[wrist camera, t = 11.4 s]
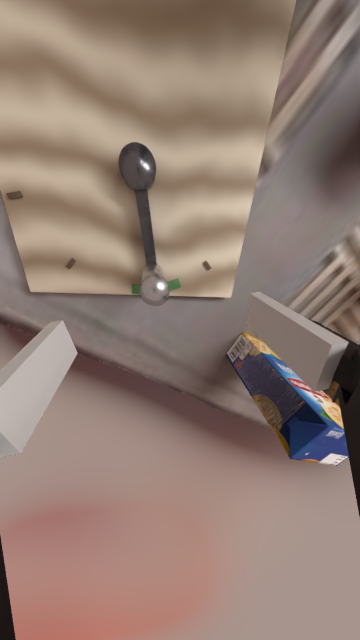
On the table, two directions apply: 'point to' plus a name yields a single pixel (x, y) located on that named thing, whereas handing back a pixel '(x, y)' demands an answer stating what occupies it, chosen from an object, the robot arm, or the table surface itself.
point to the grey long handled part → (144, 217)
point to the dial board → (135, 135)
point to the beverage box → (290, 404)
